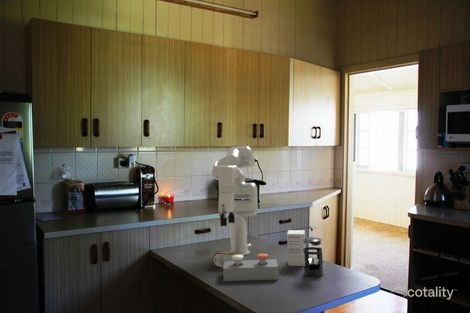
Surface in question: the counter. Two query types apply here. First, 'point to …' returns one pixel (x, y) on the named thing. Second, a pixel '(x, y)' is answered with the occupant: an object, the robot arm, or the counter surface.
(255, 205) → the robot arm
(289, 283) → the counter surface
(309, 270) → the french press
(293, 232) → the supplement box
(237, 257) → the white button
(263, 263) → the red button
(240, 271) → the console
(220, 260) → the tin
